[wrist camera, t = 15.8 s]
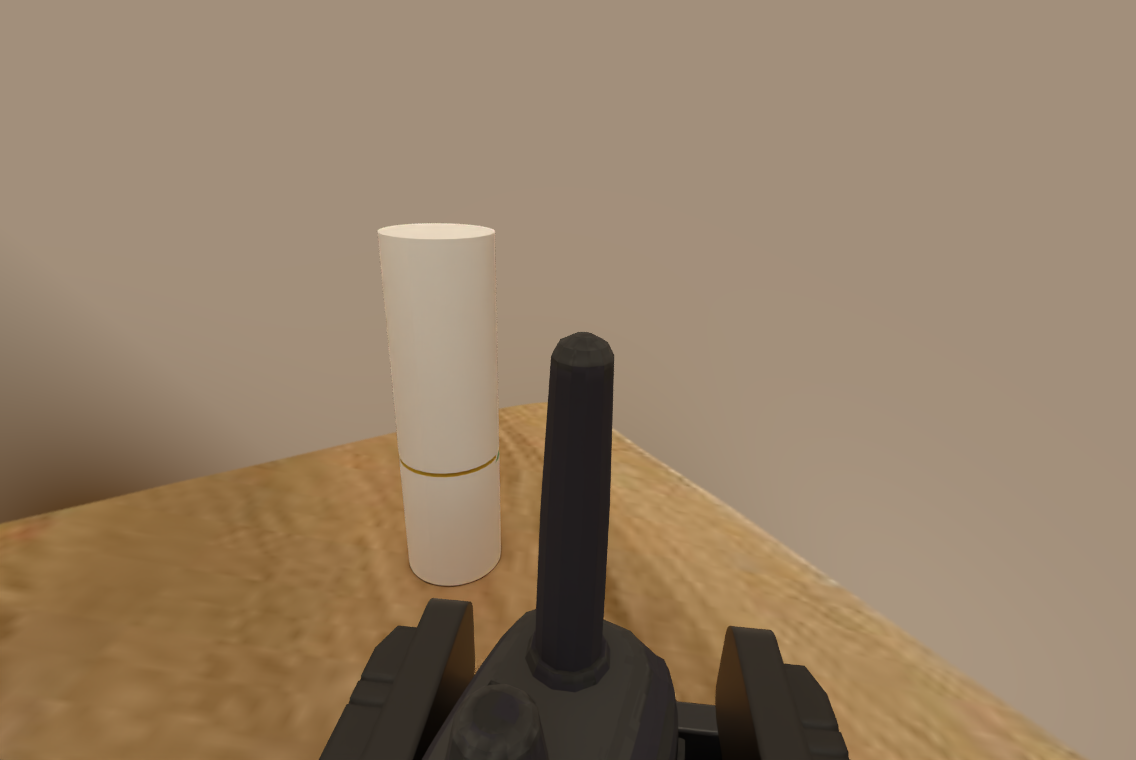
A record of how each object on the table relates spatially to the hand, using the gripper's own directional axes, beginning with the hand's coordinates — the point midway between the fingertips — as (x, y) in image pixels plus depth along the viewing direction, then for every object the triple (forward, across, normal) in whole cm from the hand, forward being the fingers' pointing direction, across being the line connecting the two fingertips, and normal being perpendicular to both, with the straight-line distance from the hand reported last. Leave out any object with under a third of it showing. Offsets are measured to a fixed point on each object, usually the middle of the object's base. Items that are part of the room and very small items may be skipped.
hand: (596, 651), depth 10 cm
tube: (+13, -7, -10) cm, 18 cm away
